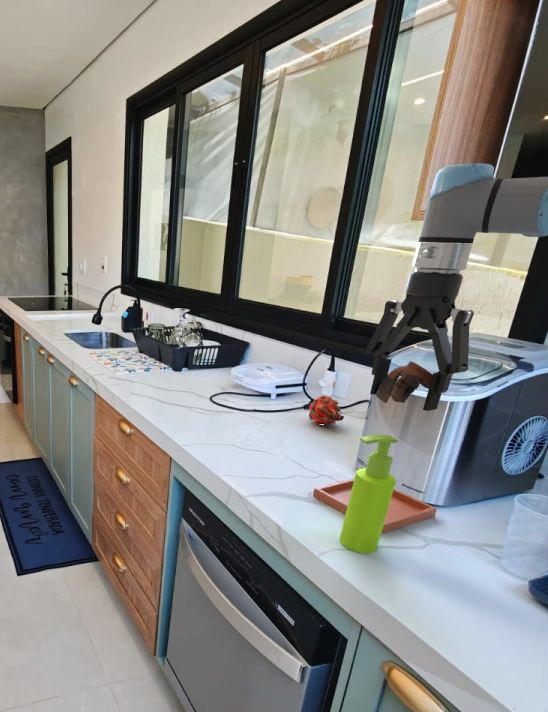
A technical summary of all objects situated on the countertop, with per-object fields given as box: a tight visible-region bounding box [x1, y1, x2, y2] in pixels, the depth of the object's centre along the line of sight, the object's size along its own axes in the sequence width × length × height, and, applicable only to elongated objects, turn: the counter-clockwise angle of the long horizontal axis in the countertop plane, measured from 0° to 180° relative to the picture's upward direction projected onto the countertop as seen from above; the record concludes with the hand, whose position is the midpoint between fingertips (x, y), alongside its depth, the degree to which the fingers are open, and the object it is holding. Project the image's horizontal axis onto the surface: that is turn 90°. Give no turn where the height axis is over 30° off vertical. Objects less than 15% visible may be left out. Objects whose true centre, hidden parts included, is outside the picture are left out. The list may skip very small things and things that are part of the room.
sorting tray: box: [312, 477, 438, 535], centre depth 100 cm, size 16×16×2 cm
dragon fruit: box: [308, 395, 345, 427], centre depth 144 cm, size 8×8×12 cm
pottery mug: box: [375, 361, 442, 404], centre depth 90 cm, size 12×10×8 cm
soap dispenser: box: [339, 434, 398, 554], centre depth 84 cm, size 6×7×20 cm
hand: (401, 401), depth 91 cm, fingers closed on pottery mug, 9 cm apart
